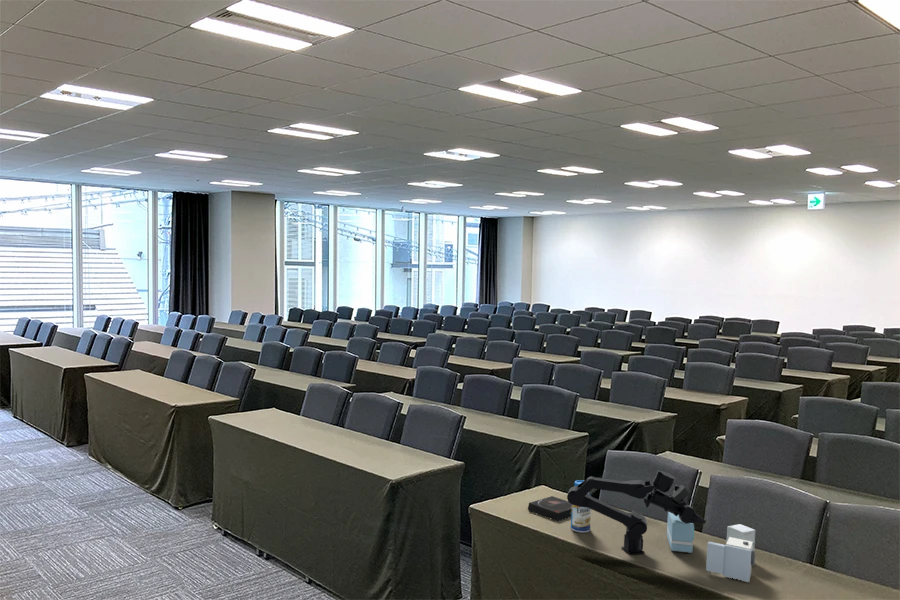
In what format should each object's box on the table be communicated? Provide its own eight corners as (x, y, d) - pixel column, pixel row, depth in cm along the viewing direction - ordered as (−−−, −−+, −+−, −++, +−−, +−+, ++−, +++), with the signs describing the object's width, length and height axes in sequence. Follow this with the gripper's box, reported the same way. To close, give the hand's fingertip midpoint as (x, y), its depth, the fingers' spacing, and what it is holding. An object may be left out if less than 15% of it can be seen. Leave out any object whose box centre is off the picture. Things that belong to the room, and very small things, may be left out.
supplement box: (740, 565, 257) (742, 532, 256) (724, 558, 263) (726, 525, 263) (754, 562, 260) (756, 529, 260) (738, 555, 267) (739, 523, 266)
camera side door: (705, 572, 247) (707, 542, 247) (706, 570, 249) (708, 540, 249) (749, 582, 240) (750, 551, 240) (749, 580, 242) (751, 550, 242)
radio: (695, 555, 265) (697, 504, 264) (670, 552, 266) (673, 502, 266) (689, 540, 280) (692, 492, 280) (666, 537, 282) (669, 489, 281)
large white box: (724, 576, 246) (726, 542, 246) (727, 568, 253) (729, 535, 253) (752, 583, 242) (754, 548, 241) (754, 575, 249) (756, 540, 248)
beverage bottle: (584, 525, 293) (586, 478, 292) (594, 532, 285) (596, 484, 284) (566, 526, 290) (568, 479, 289) (576, 533, 282) (578, 485, 281)
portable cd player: (550, 504, 320) (551, 495, 319) (580, 514, 307) (581, 505, 307) (527, 511, 308) (528, 502, 308) (557, 522, 296) (558, 513, 296)
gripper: (678, 486, 254) (718, 505, 253) (666, 477, 273) (703, 494, 271) (666, 514, 254) (705, 533, 252) (654, 502, 272) (691, 520, 271)
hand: (701, 519), depth 262 cm, fingers open, 9 cm apart
